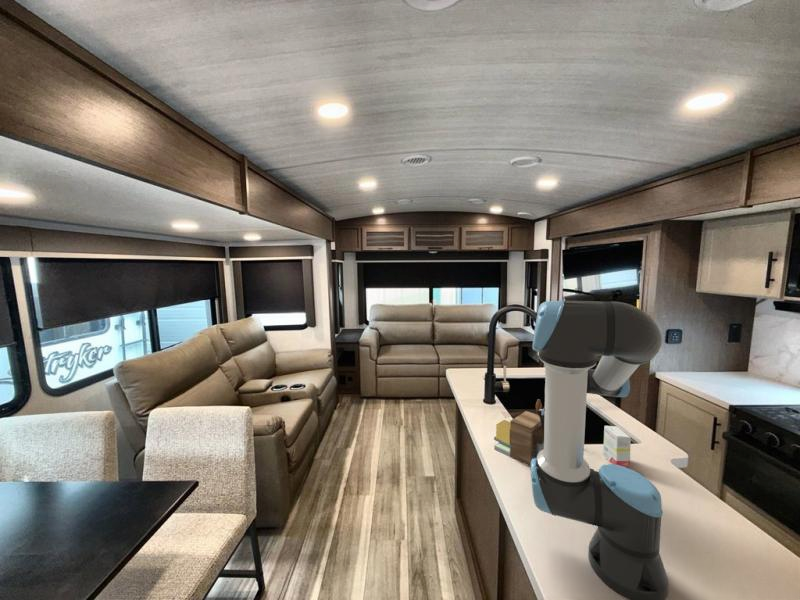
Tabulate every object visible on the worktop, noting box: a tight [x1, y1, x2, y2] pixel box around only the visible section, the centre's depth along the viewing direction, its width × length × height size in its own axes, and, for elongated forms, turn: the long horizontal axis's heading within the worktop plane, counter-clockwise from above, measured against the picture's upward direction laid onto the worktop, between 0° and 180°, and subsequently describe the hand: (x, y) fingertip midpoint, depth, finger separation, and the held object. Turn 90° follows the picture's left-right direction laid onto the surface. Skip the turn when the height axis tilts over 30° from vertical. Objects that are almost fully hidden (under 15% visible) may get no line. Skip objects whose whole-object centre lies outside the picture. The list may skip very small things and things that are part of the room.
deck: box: [493, 442, 535, 467], centre depth 120 cm, size 12×22×2 cm, turn 41°
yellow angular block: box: [493, 419, 544, 458], centre depth 122 cm, size 6×20×7 cm, turn 41°
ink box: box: [602, 425, 632, 469], centre depth 114 cm, size 9×5×12 cm, turn 175°
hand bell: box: [535, 398, 543, 415], centre depth 134 cm, size 8×8×16 cm
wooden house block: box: [509, 410, 544, 467], centre depth 119 cm, size 12×8×14 cm, turn 131°
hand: (555, 459), depth 112 cm, fingers closed
